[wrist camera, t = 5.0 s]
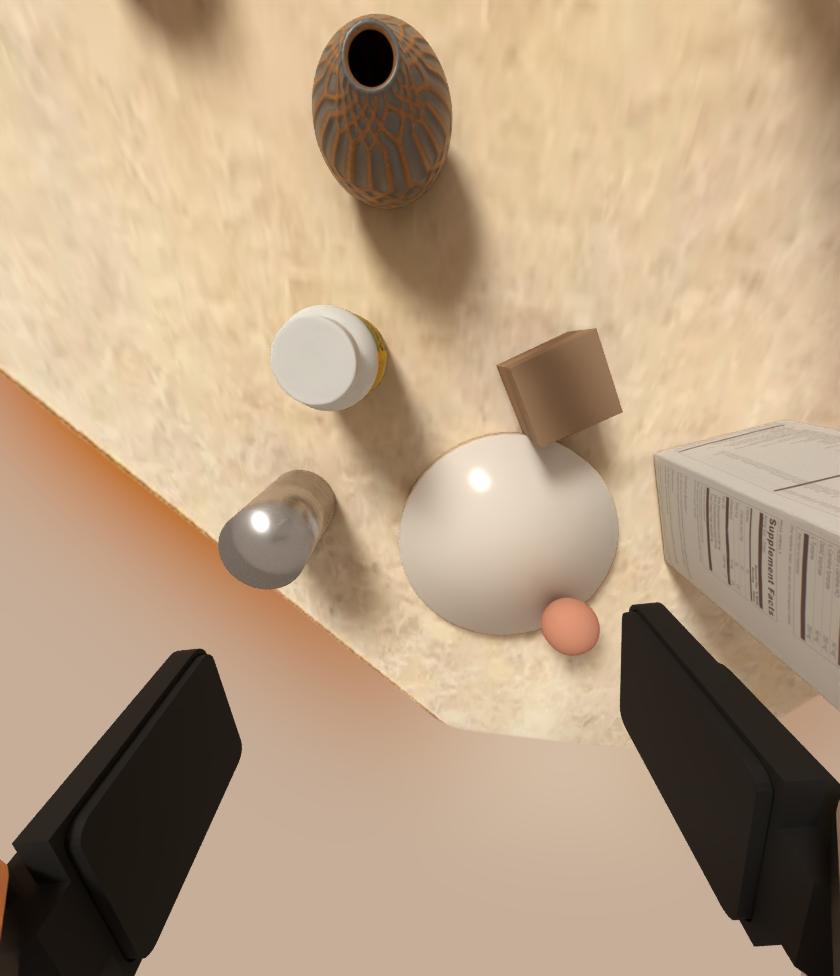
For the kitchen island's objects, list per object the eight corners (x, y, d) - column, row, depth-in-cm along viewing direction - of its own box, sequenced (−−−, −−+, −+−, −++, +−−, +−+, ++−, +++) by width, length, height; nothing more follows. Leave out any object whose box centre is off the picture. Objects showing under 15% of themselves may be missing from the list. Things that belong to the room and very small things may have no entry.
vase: (469, 122, 24) (492, 3, 16) (415, 244, 26) (410, 195, 18) (360, 54, 23) (322, -110, 15) (312, 186, 25) (256, 106, 17)
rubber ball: (588, 585, 32) (610, 617, 28) (586, 629, 33) (607, 666, 29) (535, 588, 32) (549, 621, 28) (535, 632, 33) (549, 669, 29)
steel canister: (330, 467, 31) (297, 507, 23) (340, 530, 32) (312, 586, 25) (263, 472, 31) (208, 513, 23) (276, 534, 32) (229, 591, 25)
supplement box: (661, 563, 33) (885, 768, 17) (648, 452, 30) (903, 570, 14) (791, 533, 32) (1160, 721, 16) (790, 415, 29) (1237, 498, 13)
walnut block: (567, 332, 28) (596, 328, 23) (590, 401, 29) (622, 412, 24) (496, 365, 28) (510, 368, 24) (522, 431, 30) (540, 447, 25)
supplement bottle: (294, 367, 28) (232, 376, 19) (335, 296, 27) (288, 270, 18) (362, 412, 29) (332, 441, 20) (404, 346, 28) (393, 345, 19)
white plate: (616, 422, 29) (625, 426, 28) (605, 617, 34) (612, 627, 33) (388, 442, 30) (387, 446, 29) (410, 629, 35) (410, 641, 34)
